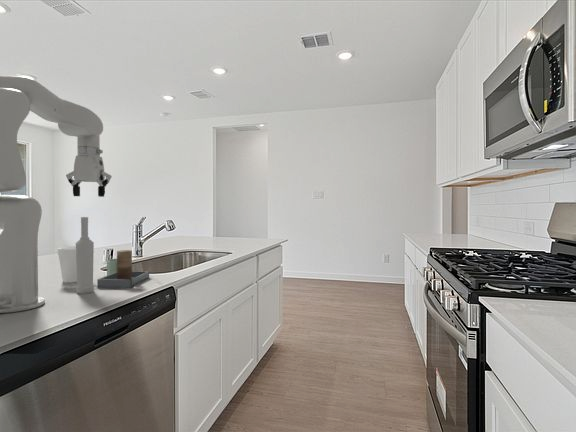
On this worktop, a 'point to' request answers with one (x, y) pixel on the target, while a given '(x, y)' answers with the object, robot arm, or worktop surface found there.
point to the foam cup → (68, 263)
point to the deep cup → (111, 266)
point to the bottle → (84, 260)
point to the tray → (122, 280)
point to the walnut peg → (124, 264)
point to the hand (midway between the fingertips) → (89, 196)
